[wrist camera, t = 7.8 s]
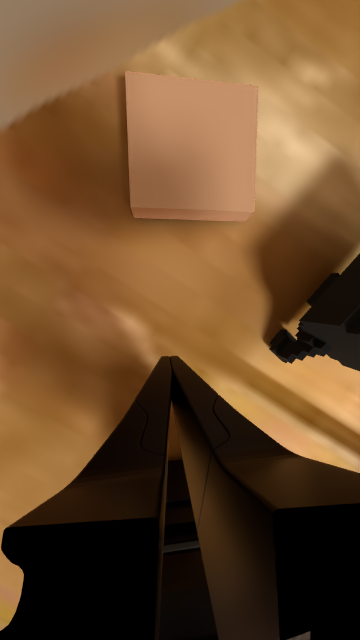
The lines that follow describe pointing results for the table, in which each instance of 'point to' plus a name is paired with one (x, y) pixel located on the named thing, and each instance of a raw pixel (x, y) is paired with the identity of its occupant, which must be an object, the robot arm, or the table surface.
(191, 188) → the tile
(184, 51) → the table surface
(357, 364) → the security camera
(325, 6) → the table surface
